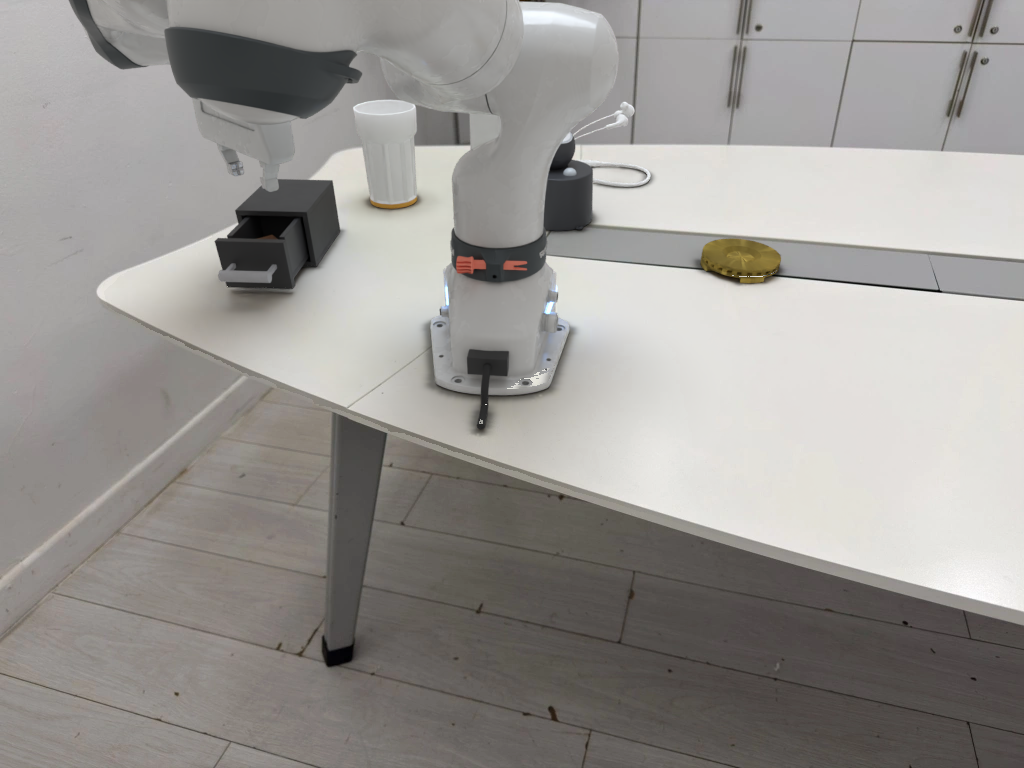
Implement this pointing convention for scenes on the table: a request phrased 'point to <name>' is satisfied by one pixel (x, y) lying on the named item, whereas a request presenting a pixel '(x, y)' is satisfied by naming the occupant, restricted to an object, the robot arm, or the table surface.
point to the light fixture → (568, 190)
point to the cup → (388, 151)
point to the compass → (740, 259)
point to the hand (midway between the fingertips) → (253, 182)
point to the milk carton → (483, 128)
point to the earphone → (620, 121)
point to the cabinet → (300, 211)
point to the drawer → (263, 252)
